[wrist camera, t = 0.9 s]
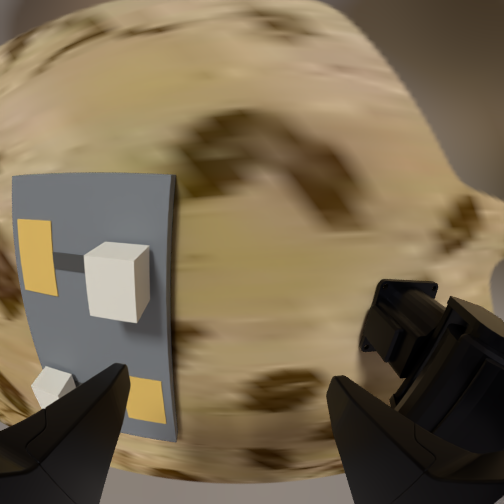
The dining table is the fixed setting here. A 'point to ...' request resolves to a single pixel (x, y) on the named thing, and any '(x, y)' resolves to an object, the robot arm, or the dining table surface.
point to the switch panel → (74, 282)
